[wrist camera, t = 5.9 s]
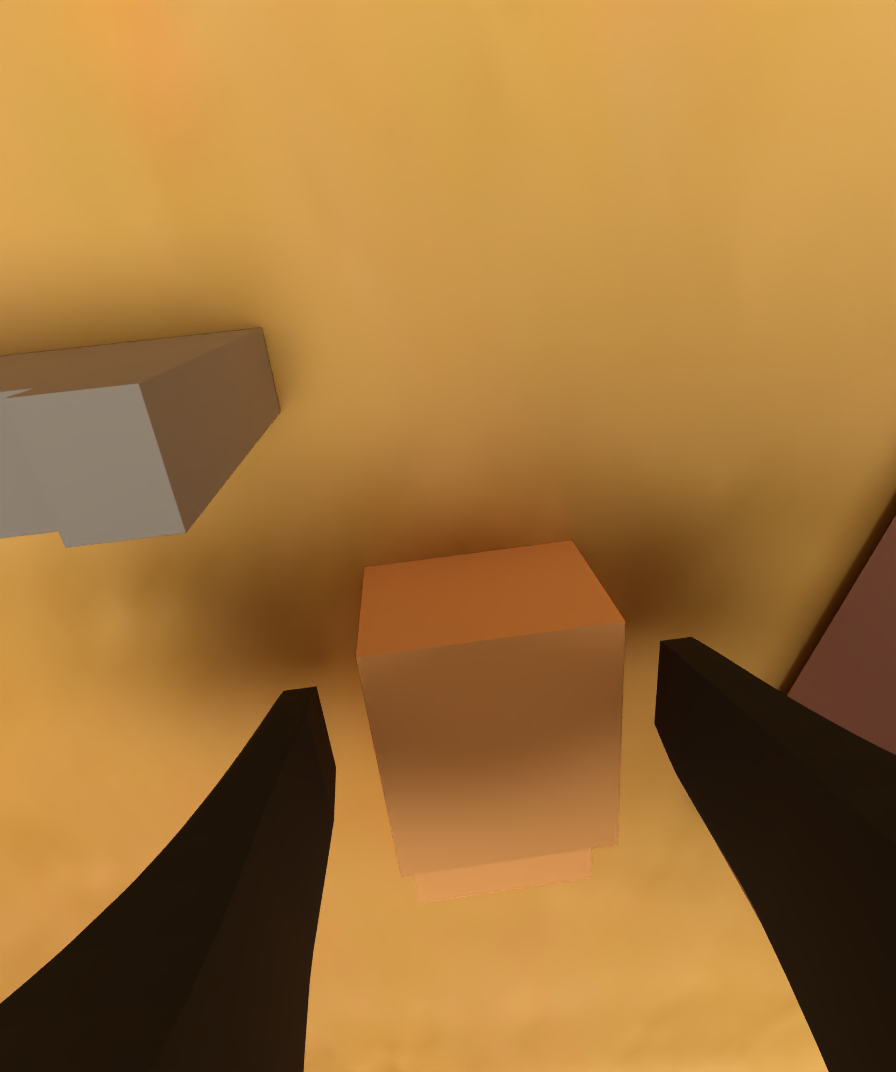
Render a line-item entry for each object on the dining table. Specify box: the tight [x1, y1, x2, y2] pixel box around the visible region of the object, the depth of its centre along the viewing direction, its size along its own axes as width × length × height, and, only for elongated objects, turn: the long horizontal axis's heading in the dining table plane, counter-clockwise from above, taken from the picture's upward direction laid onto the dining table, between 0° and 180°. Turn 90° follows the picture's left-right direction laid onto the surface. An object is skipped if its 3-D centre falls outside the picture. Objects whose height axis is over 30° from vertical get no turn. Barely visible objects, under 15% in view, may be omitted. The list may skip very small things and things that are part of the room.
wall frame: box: [0, 328, 280, 548], centre depth 8 cm, size 26×2×6 cm, turn 95°
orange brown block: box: [356, 540, 625, 904], centre depth 13 cm, size 4×9×4 cm, turn 6°
